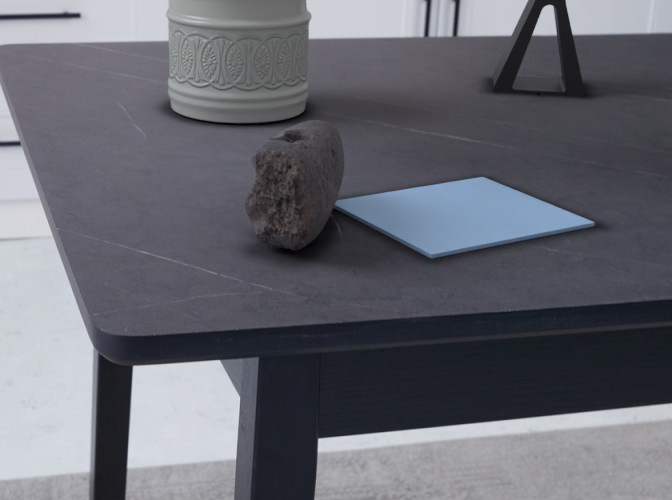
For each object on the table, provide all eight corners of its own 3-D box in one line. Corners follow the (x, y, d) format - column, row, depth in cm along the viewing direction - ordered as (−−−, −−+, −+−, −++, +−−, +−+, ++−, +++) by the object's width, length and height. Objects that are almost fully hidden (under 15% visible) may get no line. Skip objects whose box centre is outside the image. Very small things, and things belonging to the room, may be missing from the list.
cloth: (482, 180, 88) (482, 176, 88) (594, 226, 79) (595, 222, 79) (328, 205, 82) (328, 201, 82) (431, 258, 73) (431, 254, 73)
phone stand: (579, 84, 120) (597, -39, 114) (584, 97, 114) (603, -31, 109) (492, 79, 121) (505, -43, 115) (492, 92, 115) (506, -35, 110)
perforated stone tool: (294, 188, 84) (296, 92, 81) (365, 194, 83) (369, 98, 80) (230, 261, 72) (228, 151, 68) (312, 270, 70) (314, 159, 67)
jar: (279, 89, 114) (284, -104, 106) (329, 120, 103) (339, -93, 95) (152, 97, 110) (146, -104, 102) (190, 130, 99) (188, -92, 91)
